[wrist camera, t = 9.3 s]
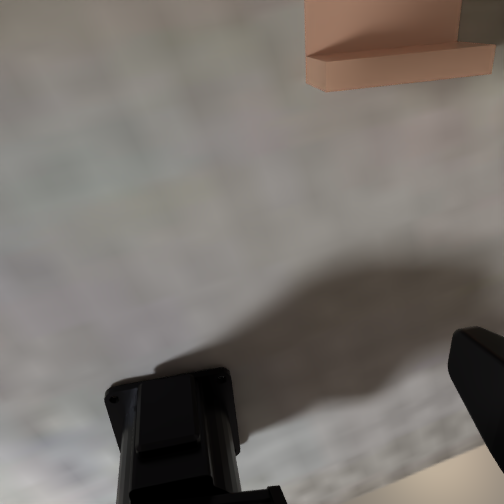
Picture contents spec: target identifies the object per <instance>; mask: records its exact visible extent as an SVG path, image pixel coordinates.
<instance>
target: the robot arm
mask: <svg viewBox="0 0 504 504" xmlns="http://www.w3.org/2000/svg"><path fill="white" fill-rule="evenodd" d="M448 371H449V375H450V377H451V380H452V381H453V383H454V385H455V387H456V389H457V391H458V393H459V395H460V397H461V399H462V400H463V402H464V404H465V406H466V408H467V410H468V412H469V414H470V416H471V418H472V419H473V421H474V423H475V425H476V427H477V429H478V431H479V433H480V435H481V437H482V438H483V440H484V442H485V444H486V446H487V447H488V449H489V451H490V453H491V454H492V456H493V458H494V459H495V461H496V462H497V464H498V466H499V467H500V469H501V470H502V472H503V473H504V337H503V336H500V335H498V334H496V333H493V332H491V331H489V330H486V329H484V328H482V327H478V326H473V327H467V328H461V329H458V330H456V331H455V332H454V334H453V337H452V342H451V348H450V354H449V359H448ZM220 376H224V378H218V377H220ZM112 396H117V398H113V397H112ZM104 402H105V405H106V408H107V411H108V415H109V418H110V421H111V424H112V428H113V431H114V434H115V437H116V440H117V444H118V447H119V450H120V453H121V454H120V466H119V477H118V488H117V499H116V504H287V502H286V500H285V497H284V495H283V492H282V490H281V488H280V486H279V485H278V486H269V487H267V489H261V490H252V491H243V492H242V491H241V485H240V479H239V473H238V467H237V462H236V456H237V455H238V454H239V453H240V443H239V435H238V427H237V420H236V412H235V404H234V396H233V389H232V381H231V375H230V371H229V370H228V369H227V368H224V367H221V368H215V369H209V370H203V371H198V372H192V373H187V374H181V375H176V376H170V377H165V378H159V379H154V380H148V381H143V382H137V383H132V384H126V385H121V386H115V387H111V388H109V389H108V390H107V391H106V392H105V398H104Z"/></svg>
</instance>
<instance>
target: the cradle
mask: <svg viewBox="0 0 504 504" xmlns="http://www.w3.org/2000/svg"><path fill="white" fill-rule="evenodd" d="M304 1H305V51H306V83H307V84H309V85H311V86H313V87H316V88H318V89H320V90H322V91H324V92H333V91H342V90H351V89H360V88H369V87H378V86H387V85H396V84H406V83H415V82H424V81H433V80H442V79H451V78H460V77H469V76H478V75H487V74H492V67H493V61H494V55H495V48H496V45H494V44H482V43H471V42H459V41H457V38H458V30H459V22H460V13H461V5H462V0H304Z"/></svg>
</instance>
